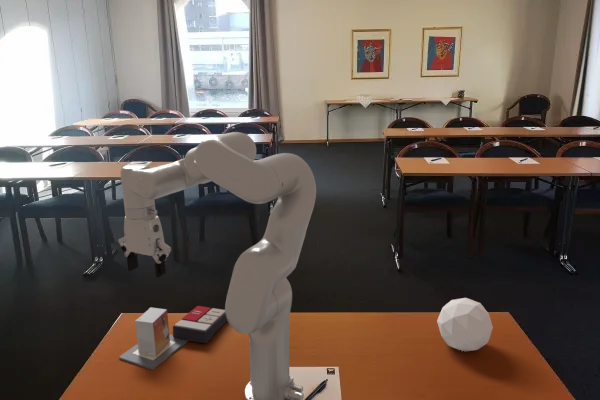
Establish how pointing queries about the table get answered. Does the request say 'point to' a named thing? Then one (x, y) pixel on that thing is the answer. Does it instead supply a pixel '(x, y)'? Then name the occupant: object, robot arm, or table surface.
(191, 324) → the calculator
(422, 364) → the table surface
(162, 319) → the small box
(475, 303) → the geometric sphere
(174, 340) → the board
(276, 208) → the robot arm
